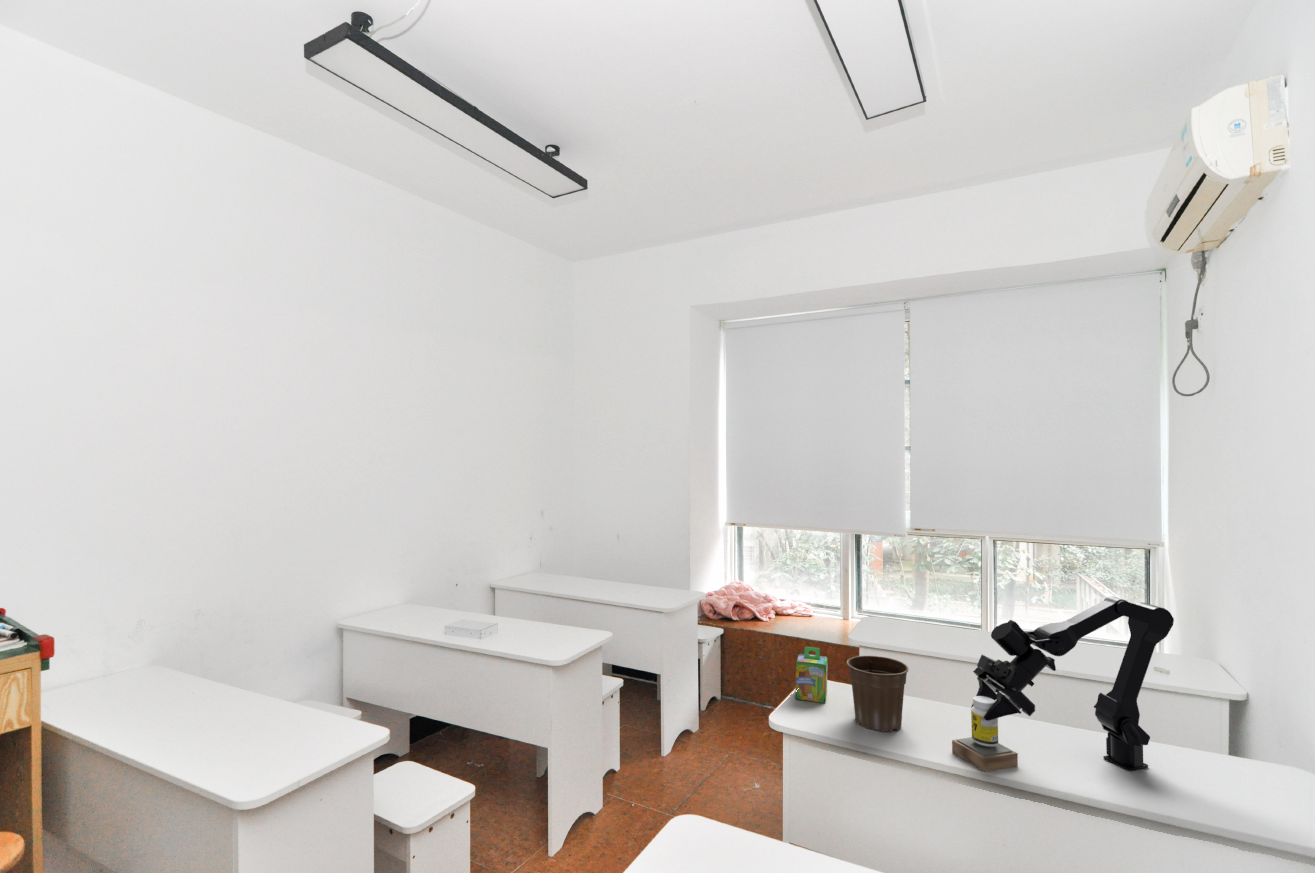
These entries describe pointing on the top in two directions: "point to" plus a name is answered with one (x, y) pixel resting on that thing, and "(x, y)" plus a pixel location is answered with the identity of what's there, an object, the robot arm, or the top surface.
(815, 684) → the chalk box
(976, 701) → the supplement bottle
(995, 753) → the plinth
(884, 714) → the plant pot
